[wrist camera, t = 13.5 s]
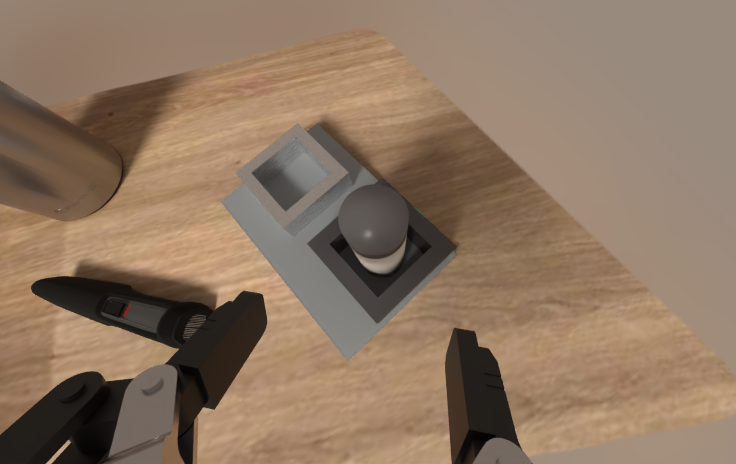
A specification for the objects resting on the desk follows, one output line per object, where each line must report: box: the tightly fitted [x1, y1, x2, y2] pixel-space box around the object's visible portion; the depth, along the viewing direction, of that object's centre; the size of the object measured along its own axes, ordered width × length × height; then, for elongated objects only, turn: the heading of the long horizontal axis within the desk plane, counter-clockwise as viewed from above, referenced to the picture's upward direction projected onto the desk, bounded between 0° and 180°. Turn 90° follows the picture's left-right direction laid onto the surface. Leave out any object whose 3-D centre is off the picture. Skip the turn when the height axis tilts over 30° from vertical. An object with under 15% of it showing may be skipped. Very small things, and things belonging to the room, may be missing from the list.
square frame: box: [236, 123, 353, 237], centre depth 24 cm, size 7×7×2 cm
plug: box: [338, 184, 409, 278], centre depth 19 cm, size 4×4×10 cm
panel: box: [221, 123, 457, 361], centre depth 25 cm, size 18×12×1 cm, turn 42°
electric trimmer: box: [31, 276, 213, 349], centre depth 24 cm, size 4×16×3 cm, turn 76°
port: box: [307, 178, 456, 324], centre depth 21 cm, size 8×8×4 cm
